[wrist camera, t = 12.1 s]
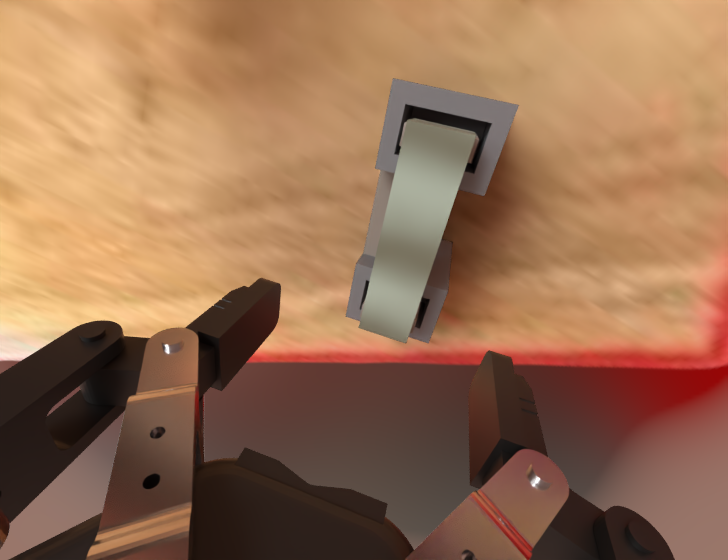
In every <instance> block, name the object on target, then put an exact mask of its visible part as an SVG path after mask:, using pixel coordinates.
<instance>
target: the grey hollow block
mask: <svg viewBox="0 0 728 560" xmlns="http://www.w3.org/2000/svg"><path fill="white" fill-rule="evenodd" d="M518 106H519V105H516V104H511V103H507V102H502V101H497V100H493V99H488V98H483V97H478V96H474V95H469V94H464V93H460V92H455V91H450V90H446V89H441V88H436V87H432V86H427V85H422V84H418V83H413V82H408V81H403V80H399V79H394V78H393V81H392V86H391V91H390V96H389V101H388V106H387V111H386V116H385V121H384V126H383V131H382V136H381V141H380V146H379V151H378V156H377V161H376V166H375V169H379V170H380V175H379V180H378V185H377V190H376V194H375V199H374V204H373V209H372V214H371V218H370V223H369V228H368V233H367V238H366V242H365V247H364V252H363V254H362V256H361V257H360V259H359V260H358V262H357V263H356V267H355V272H354V277H353V282H352V287H351V292H350V297H349V302H348V307H347V312H346V317H349V318H352V319H355V320H358V321H360V320H361V317H360V314H361V309H362V305H363V302H364V300H365V299H366V295H367V290H368V286H369V282H370V277H371V273H372V269H373V265H374V260H375V256H376V252H377V247H378V243H379V239H380V235H381V230H382V226H383V222H384V217H385V213H386V209H387V205H388V200H389V196H390V192H391V187H392V183H393V179H394V175H395V170H396V166H397V162H398V157H399V153H400V149H401V146H399V144H400V140H401V136H402V131H403V127H404V123H405V122H407V120H409V119H413V118H416V119H421V120H425V121H429V122H434V123H438V124H442V125H447V126H451V127H455V128H459V129H464V130H468V131H472V132H475V133H476V134H477V136H478V138H479V141H478V144H477V147H476V150H475V153H474V156H473V159H472V162H471V163H467V165H466V168H465V171H464V174H463V177H462V180H461V183H460V186H459V188H458V190H462V191H466V192H470V193H474V194H477V195H481V196H485V193H486V190H487V188H488V185H489V182H490V180H491V177H492V174H493V172H494V169H495V167H496V164H497V161H498V159H499V156H500V153H501V151H502V148H503V145H504V143H505V140H506V138H507V135H508V132H509V130H510V127H511V124H512V122H513V119H514V116H515V114H516V111H517V109H518ZM452 243H453V242H450V241H446V240H442V239H441V242H440V245H439V248H438V251H437V254H436V257H435V260H434V262H433V265H432V268H431V271H430V274H429V277H428V280H427V283H426V286H425V289H424V292H423V295H422V300H421V304H420V309H419V313H418V318H417V322H416V325H415V328H414V330H413V333H412V334H411V333H409V336H408V337H410V338H413V339H417V340H420V341H423V342H426V343H429V341H430V338H431V335H432V333H433V330H434V327H435V325H436V322H437V319H438V317H439V314H440V312H441V309H442V306H443V304H444V301H445V298H446V296H447V293H448V288H449V277H450V266H451V254H452Z"/></svg>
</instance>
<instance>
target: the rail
mask: <svg viewBox="0 0 728 560" xmlns="http://www.w3.org/2000/svg"><path fill="white" fill-rule="evenodd" d="M478 141H479V138H478V136H477V134H476V133H475V132H472V131H468V130H464V129H459V128H455V127H451V126H447V125H442V124H438V123H434V122H429V121H425V120H421V119H416V118H413V119H409V120H407V122H405V123H404V127H403V131H402V136H401V140H400V144H399V146H401V149H400V153H399V157H398V162H397V166H396V170H395V175H394V179H393V183H392V187H391V192H390V196H389V200H388V205H387V209H386V213H385V217H384V222H383V226H382V230H381V235H380V239H379V243H378V247H377V252H376V256H375V260H374V265H373V269H372V273H371V277H370V282H369V286H368V290H367V295H366V299H365V300H364V302H363V305H362V309H361V314H360V317H361V320H360V325H359V328H361V329H364V330H367V331H370V332H373V333H376V334H379V335H382V336H385V337H388V338H391V339H394V340H397V341H400V342H403V343H406V342H407V339H408V336H409V333H411V334H412V333H413V330H414V328H415V325H416V322H417V318H418V313H419V309H420V304H421V300H422V295H423V292H424V289H425V286H426V283H427V280H428V277H429V274H430V271H431V268H432V265H433V262H434V260H435V257H436V254H437V251H438V248H439V245H440V242H441V239H442V236H443V233H444V230H445V227H446V224H447V221H448V218H449V215H450V212H451V209H452V206H453V203H454V200H455V197H456V194H457V191H458V188H459V186H460V183H461V180H462V177H463V174H464V171H465V168H466V165H467V163H471V162H472V159H473V156H474V153H475V150H476V147H477V144H478Z"/></svg>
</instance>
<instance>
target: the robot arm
mask: <svg viewBox="0 0 728 560" xmlns="http://www.w3.org/2000/svg"><path fill="white" fill-rule="evenodd" d="M280 294H281V286H280V284H279V283H276V282H273V281H270V280H266V279H263V278H260V279H258V280H257V281H256V282H255V283H253V284H252V285H251V286H250V287H246V286H243V287H240V288H238V289H235V290H232V291H231V292H229V293H228V294H227V295H226V296H224V297H223V298H222V300H219V301H218V302H217V303H216V304H214V306H212V307H211V308H209V309H208V310H207V311H206V312H204V313H203V314H202V315H201V316H199V317H198V318H197V319H196V320H194V321H193V322H192V323H191V324H189V325H188V326H187V327H186V328H170V329H166V330H163V331H161V332H158V333H157V334H155V335H153V336H152V337H151V338H141V337H128V336H124V335H123V331H122V328H121V326H120V325H119V324H117V323H115V322H112V321H94V322H89V323H85V324H82V325H80V326H77V327H75V328H74V329H72V330H70V331H69V332H67V333H65V334H64V335H62V336H61V337H59V338H57V339H56V340H54V341H53V342H51V343H49V344H48V345H46V346H45V347H43V348H41V349H40V350H38V351H36V352H35V353H33V354H32V355H30V356H28V357H27V358H25V359H24V360H22V361H20V362H19V363H17V364H16V365H14V366H12V367H11V368H9V369H8V370H6V371H4V372H3V373H1V374H0V549H1V547H2V546H3V544H4V542H5V540H6V539H7V536H8V533H9V528H10V523H11V521H13V520H14V519H15V518H16V516H18V515H19V514H20V513H21V512H22V511H23V510H24V509H25V508H26V507H27V506H28V505H29V504H30V503H31V502H32V501H33V500H34V499H35V498H36V497H37V496H38V495H39V494H40V493H41V492H42V491H43V490H44V489H45V488H46V487H47V486H48V485H49V484H50V483H51V482H52V481H53V480H54V479H55V478H56V477H57V476H58V475H59V474H60V473H61V472H63V471H64V470H65V469H66V468H67V466H68V465H70V464H71V463H72V462H73V461H74V460H75V459H76V458H77V457H78V456H79V455H80V454H81V453H82V452H83V451H84V450H85V449H86V448H87V447H88V446H89V445H90V444H91V443H92V442H93V441H94V440H95V439H96V438H97V437H98V436H99V435H100V434H101V433H102V432H103V431H104V430H105V429H106V428H107V427H108V426H109V425H110V424H111V423H112V422H113V421H114V420H115V419H117V418H118V417H119V416H120V415H121V414H122V413H123V412H124V411H125V413H124V417H123V422H122V426H121V431H120V436H119V440H118V444H117V449H116V453H115V458H114V462H113V467H112V471H111V476H110V480H109V485H108V489H107V494H106V498H105V502H104V507H103V511H102V513H100V514H98V515H96V516H94V517H92V518H90V519H88V520H86V521H84V522H82V523H80V524H79V525H76V526H75V527H72V528H70V529H69V530H67V531H65V532H63V533H61V534H59V535H57V536H55V537H53V538H51V539H49V540H47V541H45V542H43V543H41V544H39V545H37V546H35V547H33V548H31V549H29V550H27V551H25V552H23V553H21V554H19V555H17V556H15V557H13V558H11V559H9V560H675V559H674V557H673V554H672V552H671V550H670V548H669V546H668V545H667V543H666V541H665V540H664V539H663V537H662V536H661V535H660V533H659V532H658V531H657V530H656V529H655V528H654V527H653V526H652V525H651V524H650V523H649V522H648V521H647V520H646V519H644V518H643V517H642V516H640V515H639V514H637V513H636V512H634V511H632V510H630V509H628V508H625V507H621V506H613V507H611V508H609V509H608V510H607V511H605V512H604V511H602V510H601V509H599V508H598V507H596V506H595V505H593V504H592V503H590V502H588V501H587V500H585V499H584V498H582V497H581V496H579V495H578V494H576V493H575V492H573V491H572V490H571V489H570V488H569V486H568V483H567V480H566V478H565V476H564V475H563V473H562V471H561V470H560V469H559V468H558V466H557V465H556V464H555V463H554V462H553V461H552V460H550V459H549V458H548V455H547V452H546V447H545V443H544V438H543V434H542V430H541V426H540V422H539V418H538V416H537V414H538V413H537V409H536V405H534V404H535V401H534V397H533V393H532V390H531V388H530V386H529V385H528V383H527V382H526V380H525V379H524V377H523V376H520V375H517V374H515V373H514V368H513V362H512V359H511V357H508V356H505V355H502V354H499V353H496V352H492V351H488V352H487V353H486V354H485V356H484V358H483V360H482V362H481V364H480V366H479V368H478V370H477V372H476V374H475V376H474V378H473V380H472V383H471V385H470V390H469V397H468V399H469V400H468V401H469V459H470V460H469V462H470V485H471V486H474V487H476V488H479V489H480V490H479V491H474V492H473V493H472V494H471V495H470V496H468V497H467V498H466V499H465V501H463V502H462V503H461V504H460V505H459V506H458V507H457V508H456V509H455V510H454V511H453V512H452V513H451V514H450V515H449V516H448V517H447V518H446V519H445V520H444V521H443V522H442V523H441V524H440V525H439V526H438V527H437V528H436V529H435V530H434V531H433V532H432V533H431V534H430V535H429V536H428V537H427V538H426V539H425V540H424V541H423V542H422V543H421V544H420V545H419V546H418V547H417V548H416V549H415V550H414V549H413V547H412V546H411V544H410V543H409V541H408V540H407V538H406V537H405V536H404V534H403V533H402V532H401V531H400V530H399V528H397V527H396V526H395V525H394V524H393V523H392V522H391V521H390V520H389V519H387V518H386V517H385V514H386V508H387V503H384V502H382V501H379V500H377V499H374V498H372V497H369V496H367V495H364V494H361V493H359V492H356V491H354V490H351V489H343V488H334V487H323V486H314V485H310V484H308V483H307V482H305V481H304V480H303V479H301V478H300V477H299V476H297V475H296V474H295V473H294V472H292V471H291V470H290V469H289V468H287V467H286V466H285V465H283V464H282V463H281V462H280V461H278V460H276V459H273V458H271V457H268V456H266V455H263V454H260V453H258V452H255V451H252V450H250V449H248V448H244V450H243V452H242V453H241V455H240V456H239V458H223V459H216V460H212V461H208V462H205V459H204V393H205V392H206V391H207V390H208V389H209V388H210V387H212V388H215V389H218V390H220V391H222V390H223V389H224V388H225V387H226V386H227V384H228V383H229V382H230V381H231V380H232V378H233V377H234V376H235V375H236V374H237V373H238V371H239V370H240V369H241V368H242V367H243V365H244V364H245V363H246V362H247V361H248V360H249V358H250V357H251V356H252V355H253V354H254V352H255V351H256V350H257V349H258V348H259V347H260V345H261V344H262V343H263V342H264V341H265V339H266V338H267V337H268V336H269V335H270V334H271V332H272V331H273V330H274V328H275V327H276V324H277V322H278V319H279V309H280ZM78 386H80V389H81V390H79V391H78V392H77V393H76V394H75V395H73V396H72V397H71V398H70V399H68V400H67V401H66V402H65V403H63V404H62V405H61V406H60V407H58V408H57V409H56V410H55V411H53V412H52V413H51V414H50V415H49V416H47V414H48V412H49V411H50V410H51V408H52V407H53V406H54V405H55V404H57V403H58V402H59V401H60V400H61V399H63V398H64V397H66V396H67V395H68V394H69V393H71V392H72V391H73V390H74V389H76V388H77V387H78Z"/></svg>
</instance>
